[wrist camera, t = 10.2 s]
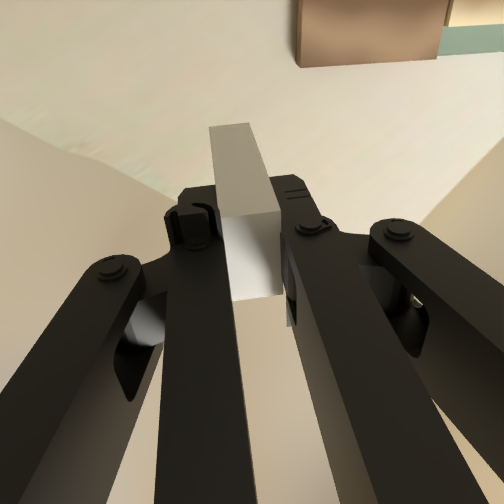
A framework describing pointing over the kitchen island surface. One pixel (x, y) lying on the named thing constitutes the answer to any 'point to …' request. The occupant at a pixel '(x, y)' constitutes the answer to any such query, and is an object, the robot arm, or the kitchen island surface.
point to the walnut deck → (368, 31)
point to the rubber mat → (471, 39)
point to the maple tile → (474, 12)
